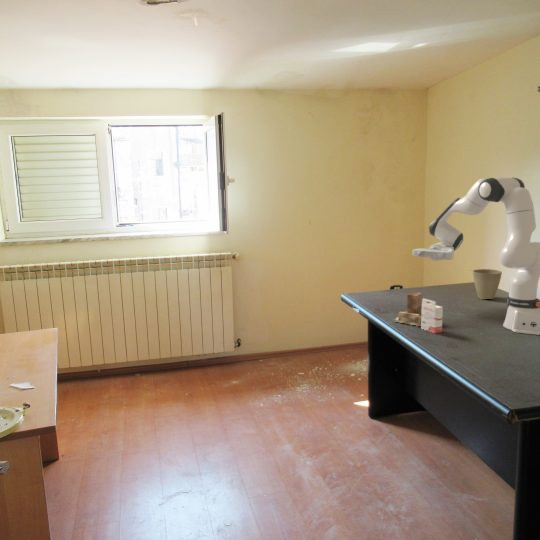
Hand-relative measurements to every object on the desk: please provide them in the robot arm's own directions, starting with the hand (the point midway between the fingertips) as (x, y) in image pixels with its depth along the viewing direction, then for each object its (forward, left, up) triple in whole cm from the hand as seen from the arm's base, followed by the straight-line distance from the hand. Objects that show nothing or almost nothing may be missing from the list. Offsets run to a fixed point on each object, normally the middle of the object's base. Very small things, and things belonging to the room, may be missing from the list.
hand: (427, 255), depth 238 cm
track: (0, +17, -30) cm, 35 cm away
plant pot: (-18, -47, -30) cm, 59 cm away
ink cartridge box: (-12, +27, -30) cm, 42 cm away
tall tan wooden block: (0, +16, -28) cm, 33 cm away
